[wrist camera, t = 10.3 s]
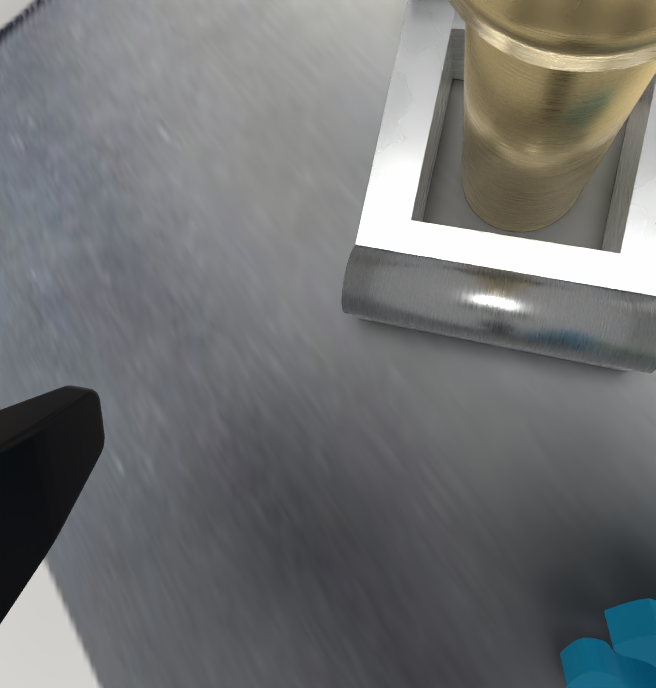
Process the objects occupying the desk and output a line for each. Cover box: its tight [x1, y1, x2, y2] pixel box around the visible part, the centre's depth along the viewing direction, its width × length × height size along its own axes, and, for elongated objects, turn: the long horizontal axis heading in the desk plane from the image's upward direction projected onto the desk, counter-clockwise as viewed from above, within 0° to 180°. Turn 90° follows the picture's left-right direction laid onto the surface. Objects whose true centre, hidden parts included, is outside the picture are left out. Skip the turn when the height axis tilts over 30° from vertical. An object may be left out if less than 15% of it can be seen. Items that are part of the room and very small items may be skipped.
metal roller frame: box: [342, 0, 656, 373], centre depth 19 cm, size 12×9×5 cm
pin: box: [448, 0, 656, 232], centre depth 15 cm, size 5×5×13 cm
